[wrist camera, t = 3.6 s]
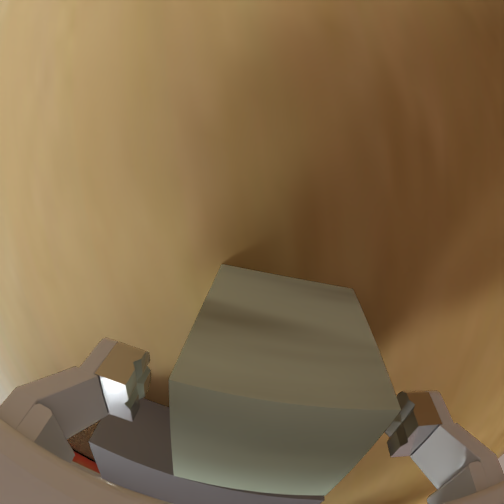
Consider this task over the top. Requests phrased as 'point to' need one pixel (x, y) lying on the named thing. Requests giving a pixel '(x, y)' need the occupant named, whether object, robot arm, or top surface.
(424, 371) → the top surface
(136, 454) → the slab
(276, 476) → the block
